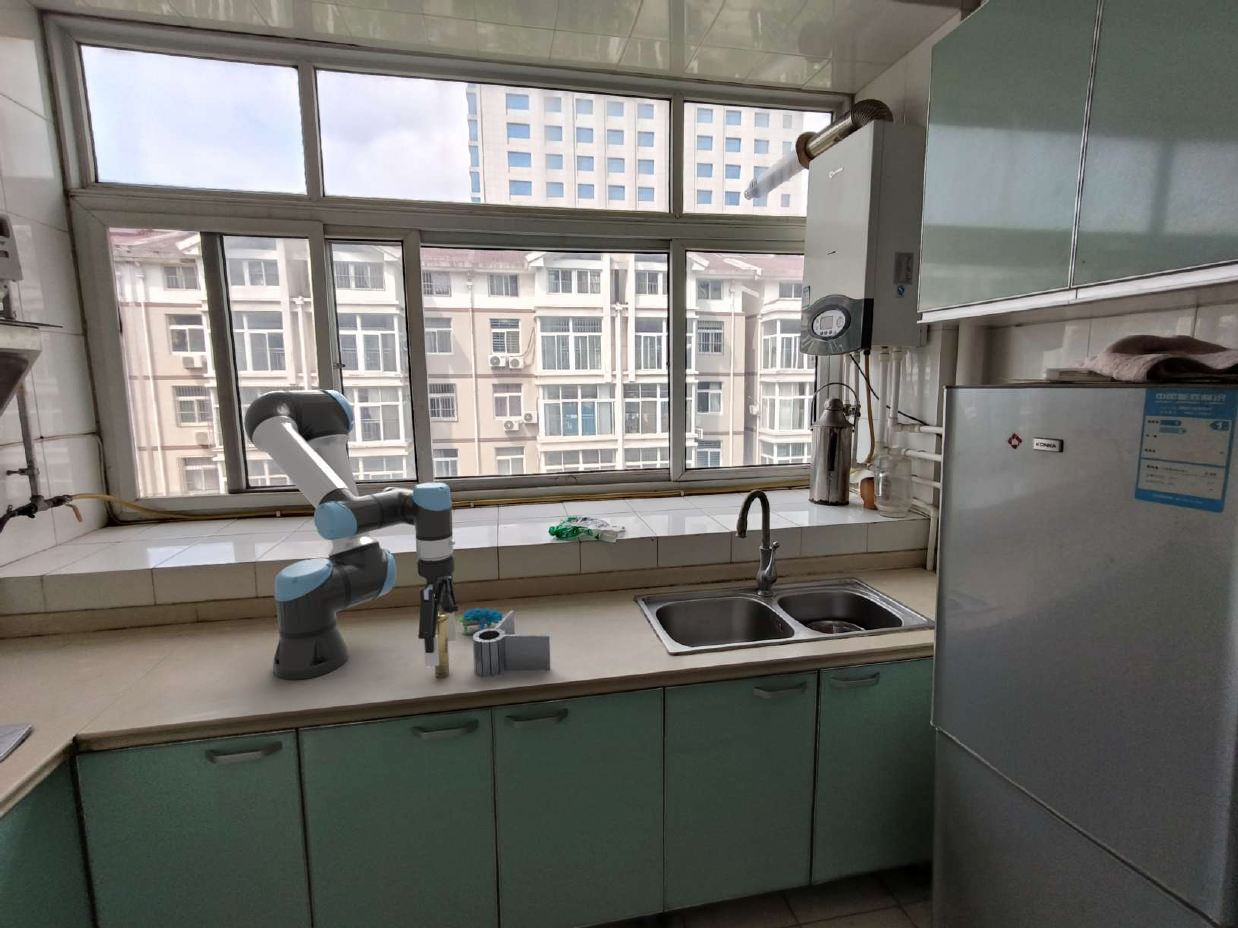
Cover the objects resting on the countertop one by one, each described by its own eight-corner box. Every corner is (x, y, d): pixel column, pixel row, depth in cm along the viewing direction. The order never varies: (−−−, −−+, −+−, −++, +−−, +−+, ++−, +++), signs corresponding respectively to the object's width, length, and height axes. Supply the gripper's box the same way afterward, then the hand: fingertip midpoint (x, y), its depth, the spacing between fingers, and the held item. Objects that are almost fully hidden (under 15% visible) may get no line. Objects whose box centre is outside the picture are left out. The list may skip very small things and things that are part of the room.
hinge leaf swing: (499, 660, 133) (497, 627, 132) (495, 660, 134) (494, 627, 132) (514, 640, 143) (513, 610, 142) (511, 640, 143) (510, 610, 142)
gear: (508, 617, 153) (496, 603, 145) (506, 639, 149) (494, 625, 142) (468, 622, 154) (454, 607, 146) (465, 643, 151) (451, 630, 143)
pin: (430, 679, 125) (427, 618, 123) (436, 670, 129) (433, 611, 127) (448, 679, 125) (444, 618, 123) (453, 670, 129) (450, 611, 127)
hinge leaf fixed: (471, 676, 126) (469, 642, 125) (479, 660, 133) (477, 628, 132) (548, 676, 126) (547, 642, 125) (552, 661, 133) (551, 628, 132)
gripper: (434, 574, 111) (440, 679, 115) (468, 539, 134) (472, 628, 138) (396, 574, 111) (403, 679, 115) (436, 539, 134) (441, 628, 138)
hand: (441, 651), depth 126 cm, fingers open, 11 cm apart
